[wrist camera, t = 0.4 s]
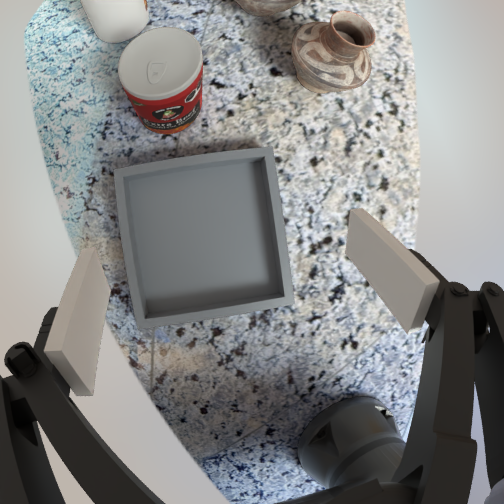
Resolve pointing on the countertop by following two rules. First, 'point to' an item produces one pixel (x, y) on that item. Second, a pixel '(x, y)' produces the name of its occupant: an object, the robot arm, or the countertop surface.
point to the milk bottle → (116, 18)
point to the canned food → (163, 78)
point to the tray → (203, 237)
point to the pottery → (325, 47)
